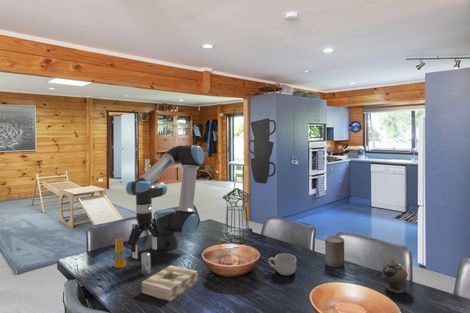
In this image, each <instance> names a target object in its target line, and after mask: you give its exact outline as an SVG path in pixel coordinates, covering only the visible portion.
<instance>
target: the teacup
mask: <svg viewBox="0 0 470 313" xmlns="http://www.w3.org/2000/svg"><path fill="white" fill-rule="evenodd" d="M271 261H273V263H274V264H272V262H271ZM267 262H268V264H269V266H270V267H272V268H274V269H275V270H276V272H277V273H279V275H281V276H291V275H293V274H294V273H295V272H296V270H297V257H296V256H295V255H293V254H290V253H278V254H276V255H275V257H272V256H271V257H269V258H268V260H267Z"/></svg>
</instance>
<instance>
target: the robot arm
mask: <svg viewBox="0 0 470 313" xmlns="http://www.w3.org/2000/svg"><path fill="white" fill-rule="evenodd" d="M204 161H205V152H204V150H203V147H201V146H199V145H194V144H191V145H189V144H188V145H175V146H174V147H171V148H170V149H168V150H166V151H165V152H164V153H162V155H161V157H160V159H159V160H157V162H155V163H154V164H153V165H152V166H151V167H150V168H149V169H148V170H146V172H144V173H143V174H142V175H141V176H139V177H138V179H136V180H134V181H133V180H132V181H129V182H127V183H126V186H125V190H126V193H127V195H131V196H135V203H136V204H135V207H136V208H135V211H136V221H137V224H135V223H133V224H132V226H131V231H130V233H129V234H130V235H129V238H128V241H127V245H128V246H131V249H130V250H131V252H132V253H131V256H132V259H136V260H137V259H138V258H139V256H138V244H137V243H138V241H139V239H140V238H141V235H142V234H143V233H144V232H145V231H148V232H149V233H150V234H151V235H152V236H151V249H152V250H154V251H163V252H164V251H165V252H166V251H172V250H175V249H177V248H178V247H179V245H180V243H179V240H178V237H177V235H176V234H177V233H181V234H191V233H193V232H194V231H195V230H196V229H197V227H198V225H199V224H198V222H199V218H198V215H197V214H196V210H195V209H194V202H195V193H196V183H197V172H198V170H199V169H200V168H201V167H200V166H201V165H202V164H203V163H204ZM178 164H180V165H181V166H180V167H182V177H181V186H180V196H179V202H178V203H179V205H178V207H177V208H176V209H174V208H169V209H168V208H167V209H162V210H159V211H157V212H156V214H155V218H153V213H152V211H153V210H152V205H153V204H152V203H153V202H152V201H153V200H152V199H155V198H158V197H159V198H160V197H163V196H164V195H166V194H167V192H168V186H167V184H166V183H165V182H162V181H157V180H158V179H159V178H160V177H161V176H163V174H165V172H167V170H168V169H170V168H172V167H174V166H175V165H178ZM156 181H157V182H156Z"/></svg>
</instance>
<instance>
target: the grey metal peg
mask: <svg viewBox="0 0 470 313" xmlns="http://www.w3.org/2000/svg"><path fill="white" fill-rule="evenodd" d="M140 256H141V260H140V261H141V275H145V276H147V275H150V274H151V272H152V264H151V262H152V260H151V252H148V251H147V252H146V251H145V252H142V253H141V254H140Z"/></svg>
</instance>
